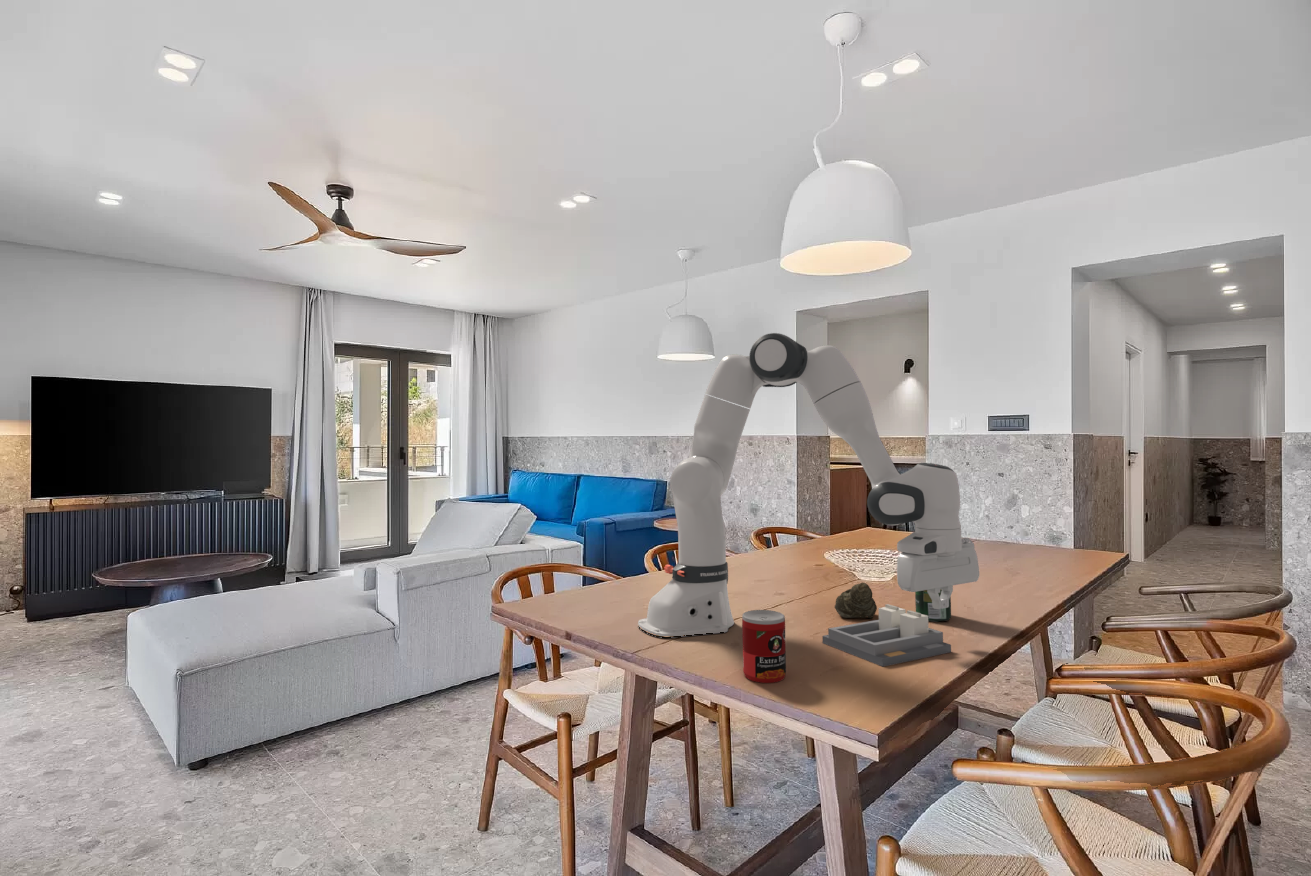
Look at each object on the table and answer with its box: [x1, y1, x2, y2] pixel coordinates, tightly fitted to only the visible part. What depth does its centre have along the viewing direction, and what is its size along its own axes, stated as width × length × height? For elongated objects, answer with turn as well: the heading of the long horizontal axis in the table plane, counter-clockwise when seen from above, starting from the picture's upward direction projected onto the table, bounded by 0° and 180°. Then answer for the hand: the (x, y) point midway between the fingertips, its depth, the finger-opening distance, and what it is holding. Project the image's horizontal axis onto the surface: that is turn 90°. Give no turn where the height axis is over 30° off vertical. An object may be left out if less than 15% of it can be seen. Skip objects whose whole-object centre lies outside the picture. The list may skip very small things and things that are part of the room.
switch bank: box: [821, 619, 952, 667], centre depth 137 cm, size 18×17×4 cm
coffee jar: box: [914, 589, 952, 623], centre depth 159 cm, size 10×8×19 cm
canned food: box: [741, 609, 787, 684], centre depth 122 cm, size 8×8×11 cm
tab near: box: [900, 610, 929, 638], centre depth 136 cm, size 4×4×6 cm
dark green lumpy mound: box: [834, 582, 878, 619], centre depth 162 cm, size 11×12×10 cm
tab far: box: [878, 603, 907, 630], centre depth 142 cm, size 4×4×6 cm
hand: (940, 608), depth 139 cm, fingers closed
